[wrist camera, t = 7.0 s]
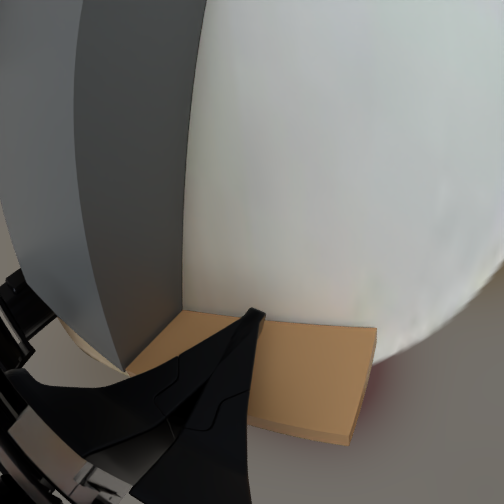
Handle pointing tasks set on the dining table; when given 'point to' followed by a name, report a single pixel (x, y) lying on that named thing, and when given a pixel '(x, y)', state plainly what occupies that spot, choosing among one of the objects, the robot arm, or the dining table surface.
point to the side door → (287, 372)
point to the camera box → (98, 159)
